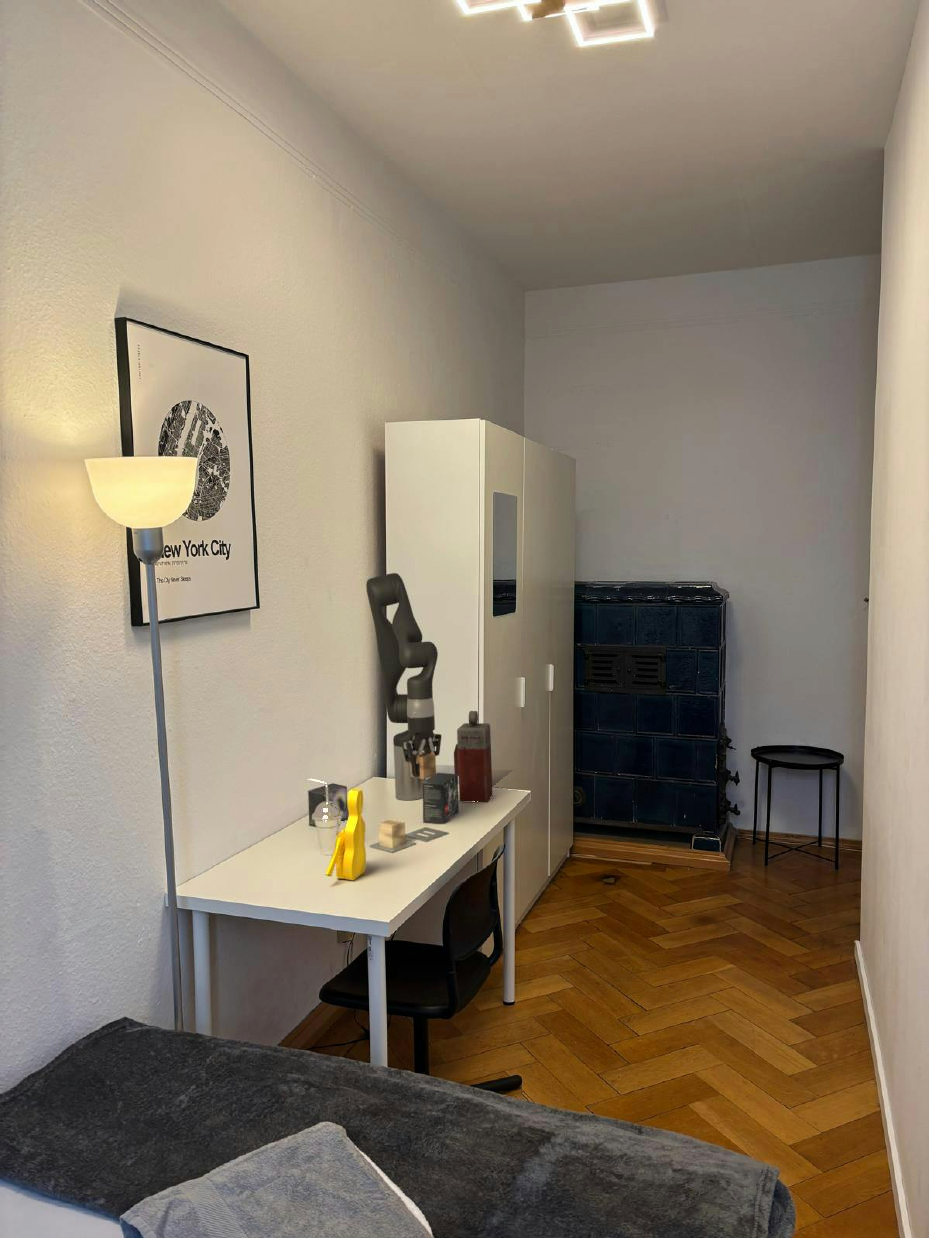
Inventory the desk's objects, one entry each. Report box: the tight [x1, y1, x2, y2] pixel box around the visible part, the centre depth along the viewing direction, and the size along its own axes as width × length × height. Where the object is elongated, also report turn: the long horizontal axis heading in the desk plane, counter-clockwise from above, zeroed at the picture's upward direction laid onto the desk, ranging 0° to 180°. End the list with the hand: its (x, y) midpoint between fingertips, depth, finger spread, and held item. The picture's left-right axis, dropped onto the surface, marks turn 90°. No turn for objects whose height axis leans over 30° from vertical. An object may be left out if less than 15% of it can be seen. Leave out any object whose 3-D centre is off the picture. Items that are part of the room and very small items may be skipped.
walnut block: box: [410, 751, 437, 780], centre depth 266 cm, size 5×5×6 cm
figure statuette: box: [325, 788, 367, 881], centre depth 235 cm, size 18×8×22 cm, turn 159°
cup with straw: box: [307, 777, 344, 856], centre depth 254 cm, size 8×9×20 cm
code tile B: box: [369, 840, 417, 854], centre depth 259 cm, size 9×9×1 cm
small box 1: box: [307, 782, 349, 828], centre depth 282 cm, size 11×6×10 cm, turn 143°
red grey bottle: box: [453, 710, 493, 803], centre depth 302 cm, size 9×11×28 cm
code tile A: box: [405, 826, 449, 843], centre depth 267 cm, size 9×9×1 cm
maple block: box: [378, 818, 407, 848], centre depth 258 cm, size 5×5×6 cm
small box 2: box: [422, 772, 460, 825], centre depth 283 cm, size 13×7×12 cm, turn 161°
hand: (423, 773), depth 266 cm, fingers closed on walnut block, 5 cm apart
